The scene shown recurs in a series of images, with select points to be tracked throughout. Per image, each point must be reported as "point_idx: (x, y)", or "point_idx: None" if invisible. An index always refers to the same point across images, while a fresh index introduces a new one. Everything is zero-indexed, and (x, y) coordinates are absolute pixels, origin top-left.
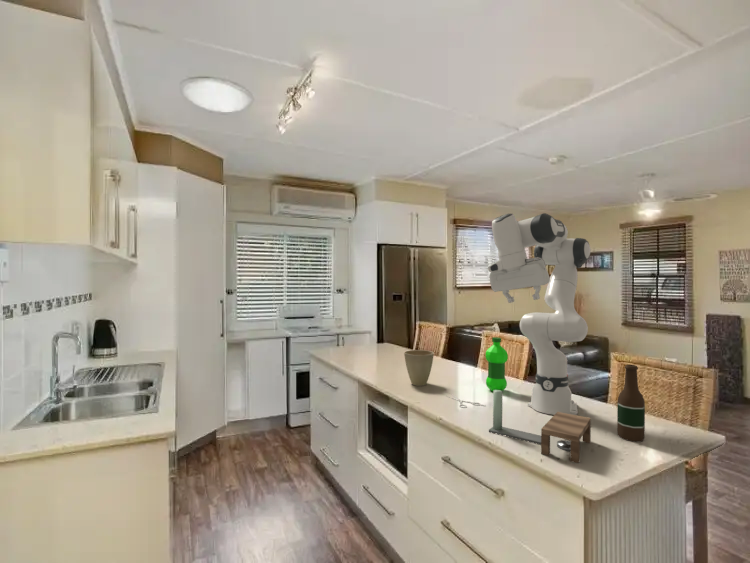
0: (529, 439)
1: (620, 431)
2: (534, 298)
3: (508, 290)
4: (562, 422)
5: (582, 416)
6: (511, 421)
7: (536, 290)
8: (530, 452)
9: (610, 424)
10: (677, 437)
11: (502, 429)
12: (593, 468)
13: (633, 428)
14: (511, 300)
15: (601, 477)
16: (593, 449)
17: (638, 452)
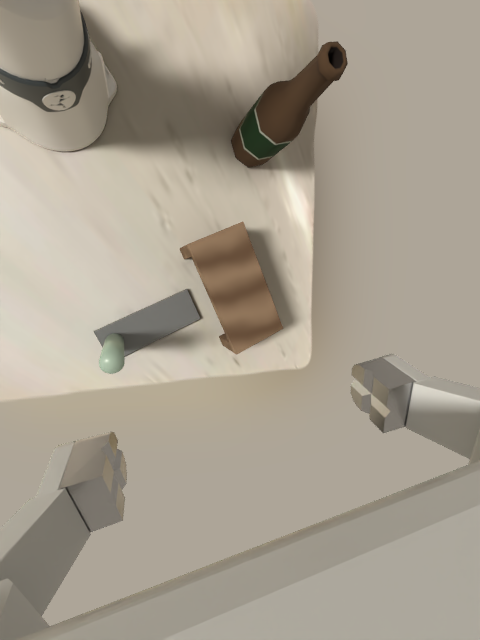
0: (182, 325)
1: (246, 159)
2: (369, 404)
3: (7, 631)
4: (234, 294)
5: (230, 227)
6: (80, 272)
7: (470, 451)
8: (212, 356)
9: (193, 96)
10: (284, 72)
11: (122, 335)
12: (281, 317)
13: (271, 157)
14: (123, 485)
15: (297, 330)
16: None
17: (283, 207)
